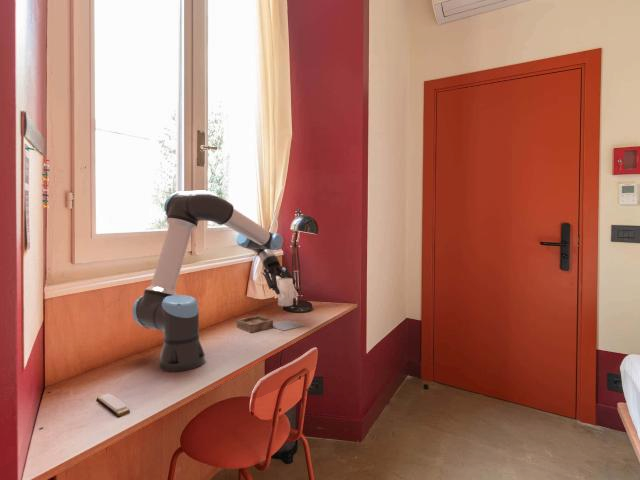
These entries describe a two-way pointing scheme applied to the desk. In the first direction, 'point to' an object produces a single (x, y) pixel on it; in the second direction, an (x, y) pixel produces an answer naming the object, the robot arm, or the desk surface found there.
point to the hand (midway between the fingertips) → (290, 297)
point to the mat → (286, 325)
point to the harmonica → (113, 405)
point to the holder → (254, 323)
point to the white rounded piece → (286, 291)
